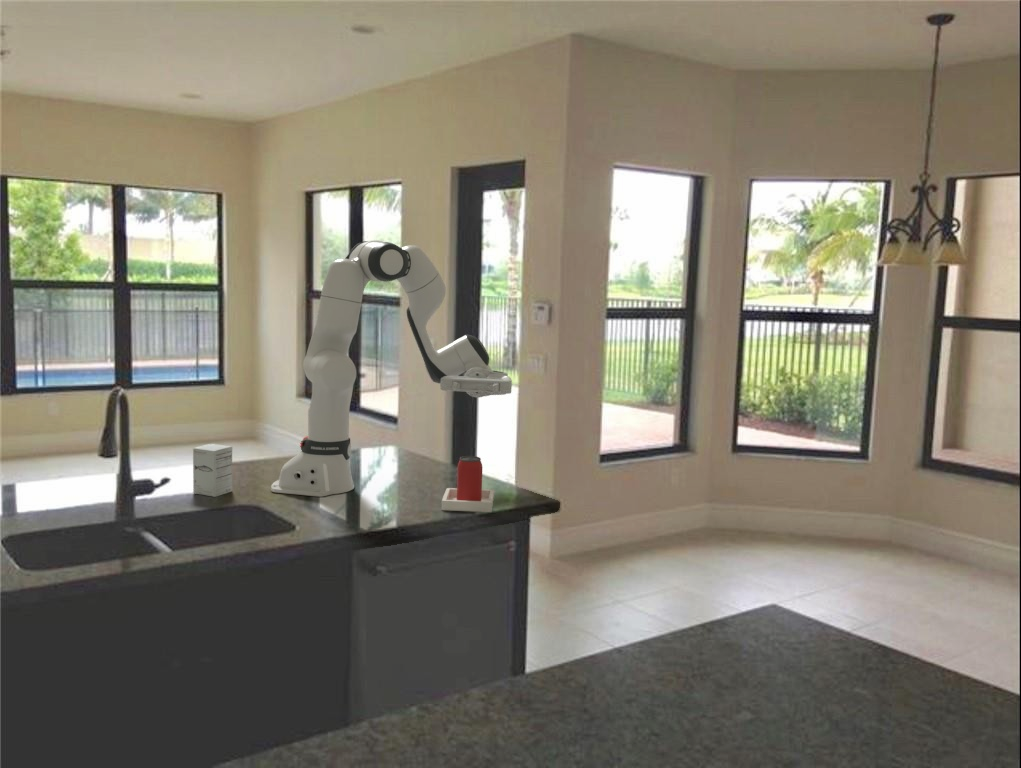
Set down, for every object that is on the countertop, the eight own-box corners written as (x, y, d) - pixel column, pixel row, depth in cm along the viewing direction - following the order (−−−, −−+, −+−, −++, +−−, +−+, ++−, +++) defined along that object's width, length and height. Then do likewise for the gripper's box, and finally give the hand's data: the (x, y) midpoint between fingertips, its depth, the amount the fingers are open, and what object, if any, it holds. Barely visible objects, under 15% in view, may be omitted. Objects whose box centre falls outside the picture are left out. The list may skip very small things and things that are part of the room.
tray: (441, 510, 217) (441, 500, 217) (446, 496, 230) (446, 487, 230) (491, 512, 217) (492, 502, 216) (493, 498, 230) (494, 489, 229)
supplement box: (192, 494, 224) (191, 447, 223) (211, 487, 231) (211, 442, 229) (214, 497, 221) (213, 450, 220) (233, 491, 228) (233, 445, 227)
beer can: (470, 507, 219) (471, 462, 217) (451, 502, 223) (452, 458, 221) (486, 502, 224) (487, 458, 223) (467, 497, 228) (468, 454, 226)
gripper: (442, 369, 245) (437, 375, 231) (512, 372, 245) (511, 378, 231) (441, 391, 246) (436, 397, 232) (511, 394, 245) (510, 401, 232)
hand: (474, 388), depth 231 cm, fingers open, 8 cm apart
